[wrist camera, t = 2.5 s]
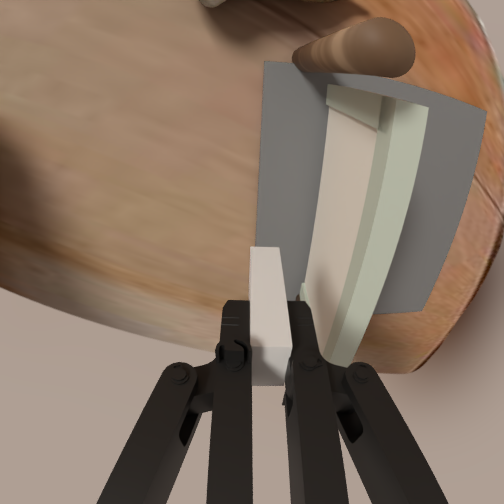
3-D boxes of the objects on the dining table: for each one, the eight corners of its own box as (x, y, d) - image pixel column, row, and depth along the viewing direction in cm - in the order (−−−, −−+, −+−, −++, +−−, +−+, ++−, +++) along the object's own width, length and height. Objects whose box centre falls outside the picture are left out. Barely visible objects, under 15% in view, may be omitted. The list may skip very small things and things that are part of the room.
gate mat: (251, 313, 37) (251, 316, 37) (264, 61, 21) (264, 61, 21) (420, 308, 38) (421, 311, 37) (484, 110, 22) (486, 111, 22)
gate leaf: (315, 295, 33) (337, 390, 23) (299, 295, 33) (317, 391, 23) (348, 87, 21) (428, 107, 11) (327, 83, 21) (396, 99, 11)
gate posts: (292, 302, 36) (311, 424, 23) (291, 46, 21) (355, 12, 7) (312, 301, 36) (338, 421, 23) (319, 47, 21) (414, 24, 7)
